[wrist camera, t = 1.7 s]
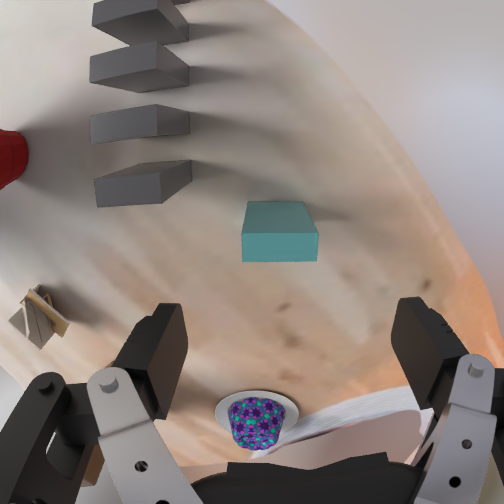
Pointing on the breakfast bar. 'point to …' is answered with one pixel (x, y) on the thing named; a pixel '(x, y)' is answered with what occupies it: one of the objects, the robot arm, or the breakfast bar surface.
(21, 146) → the plastic cup
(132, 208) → the breakfast bar surface
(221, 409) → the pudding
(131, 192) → the domino
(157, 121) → the domino
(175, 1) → the domino
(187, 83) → the domino
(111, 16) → the domino
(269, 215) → the domino
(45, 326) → the architectural model
